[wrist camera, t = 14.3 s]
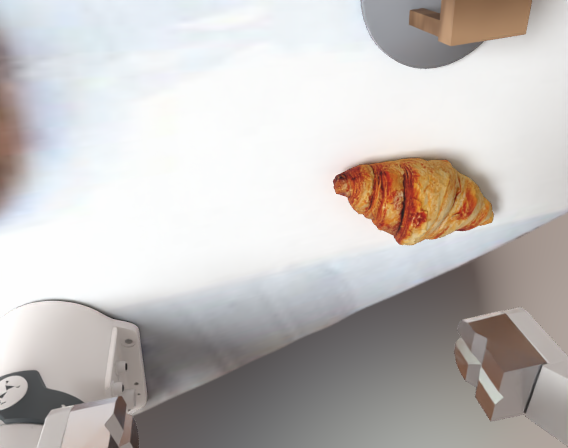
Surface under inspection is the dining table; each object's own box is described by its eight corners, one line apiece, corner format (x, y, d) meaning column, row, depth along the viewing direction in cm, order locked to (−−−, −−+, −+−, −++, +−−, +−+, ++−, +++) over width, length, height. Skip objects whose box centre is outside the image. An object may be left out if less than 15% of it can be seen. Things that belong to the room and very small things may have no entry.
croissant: (479, 175, 55) (534, 174, 48) (464, 254, 56) (516, 265, 48) (327, 139, 48) (363, 131, 41) (311, 229, 49) (344, 238, 41)
